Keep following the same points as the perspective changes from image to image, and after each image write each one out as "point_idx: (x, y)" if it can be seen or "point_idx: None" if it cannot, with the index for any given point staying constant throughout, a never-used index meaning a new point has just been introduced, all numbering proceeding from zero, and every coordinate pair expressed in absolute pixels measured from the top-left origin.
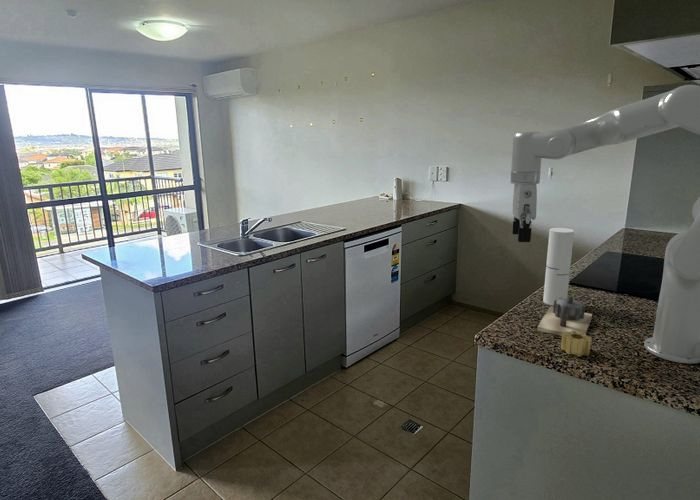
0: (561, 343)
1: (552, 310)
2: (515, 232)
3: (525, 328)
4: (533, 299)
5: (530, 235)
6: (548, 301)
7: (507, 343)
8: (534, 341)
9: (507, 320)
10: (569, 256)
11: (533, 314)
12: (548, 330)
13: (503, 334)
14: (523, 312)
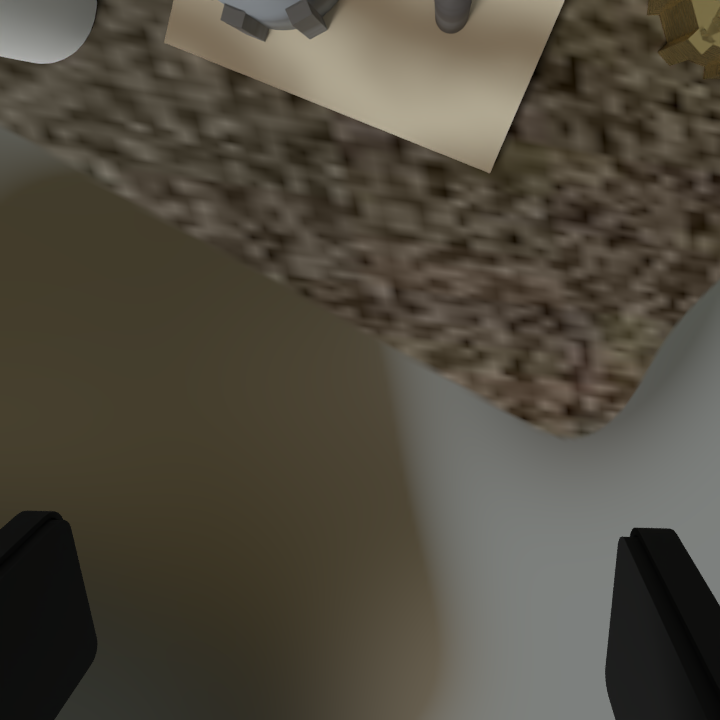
0: (717, 76)
1: (226, 38)
2: (76, 642)
3: (465, 228)
4: (30, 120)
5: (716, 614)
6: (74, 36)
7: (654, 339)
8: (623, 206)
9: (375, 306)
10: None
11: (264, 156)
12: (514, 113)
13: (552, 345)
14: (248, 208)
